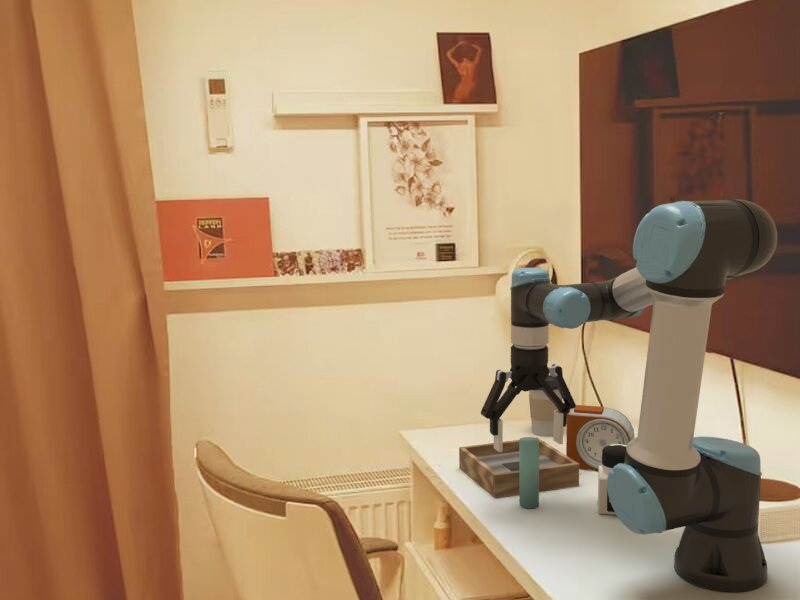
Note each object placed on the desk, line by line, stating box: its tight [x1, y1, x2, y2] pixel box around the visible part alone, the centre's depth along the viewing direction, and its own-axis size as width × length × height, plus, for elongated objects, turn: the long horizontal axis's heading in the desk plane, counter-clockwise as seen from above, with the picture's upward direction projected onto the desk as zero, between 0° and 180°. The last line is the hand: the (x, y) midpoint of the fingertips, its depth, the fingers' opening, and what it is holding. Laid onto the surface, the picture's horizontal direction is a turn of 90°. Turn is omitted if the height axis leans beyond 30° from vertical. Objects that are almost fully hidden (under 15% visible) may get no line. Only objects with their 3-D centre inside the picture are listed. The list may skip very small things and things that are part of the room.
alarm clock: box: [565, 404, 635, 472], centre depth 210 cm, size 15×8×14 cm, turn 71°
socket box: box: [458, 437, 580, 499], centre depth 204 cm, size 20×20×5 cm
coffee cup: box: [528, 374, 563, 438], centre depth 235 cm, size 9×9×15 cm
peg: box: [518, 436, 540, 510], centre depth 187 cm, size 4×4×14 cm
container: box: [597, 444, 627, 516], centre depth 184 cm, size 8×8×13 cm
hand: (528, 446), depth 186 cm, fingers open, 13 cm apart
